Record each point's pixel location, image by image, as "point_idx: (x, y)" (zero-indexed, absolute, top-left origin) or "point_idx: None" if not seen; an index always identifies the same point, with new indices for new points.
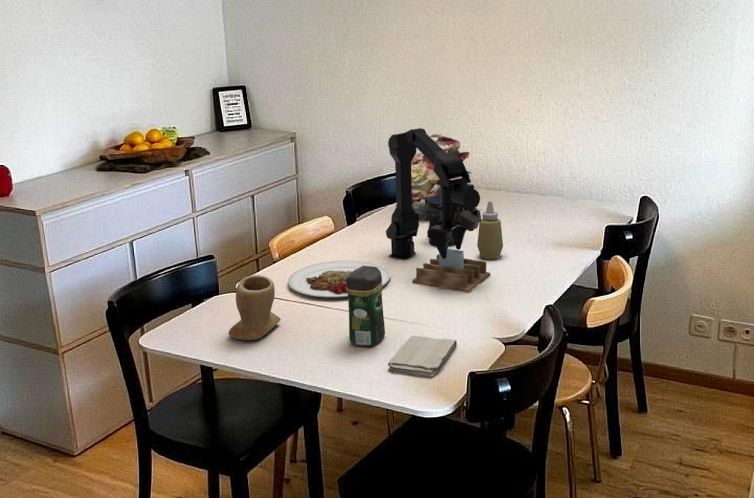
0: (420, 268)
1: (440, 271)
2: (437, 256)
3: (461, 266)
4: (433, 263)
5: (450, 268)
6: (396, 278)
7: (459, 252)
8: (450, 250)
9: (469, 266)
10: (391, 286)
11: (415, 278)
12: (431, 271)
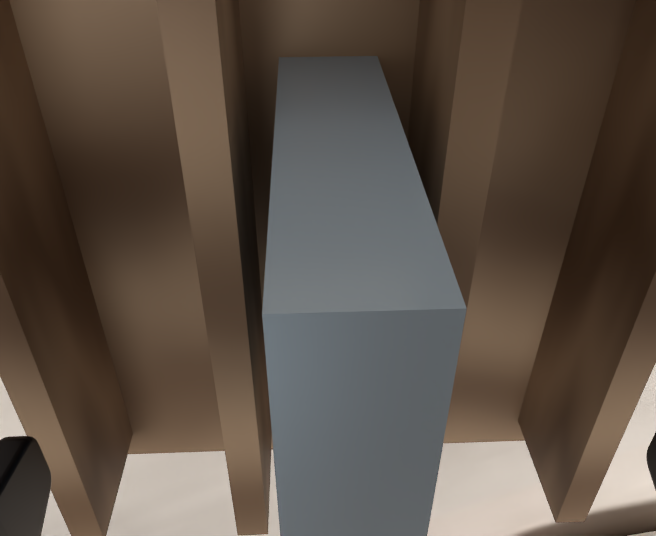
0: (578, 496)
1: (648, 306)
2: (104, 521)
3: (376, 131)
4: (266, 472)
5: (474, 252)
6: (475, 519)
7: (432, 346)
8: (368, 521)
9: (218, 25)
10: (645, 483)
11: (514, 435)
12: (639, 388)
